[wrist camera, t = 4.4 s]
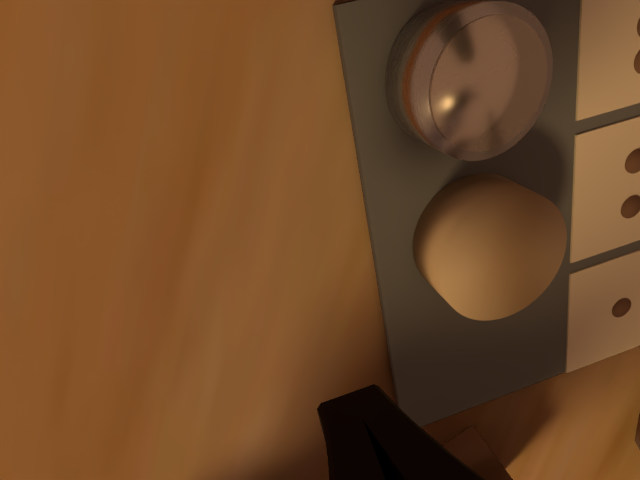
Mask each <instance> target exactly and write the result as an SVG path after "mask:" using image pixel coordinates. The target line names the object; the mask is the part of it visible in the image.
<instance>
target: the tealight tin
mask: <svg viewBox="0 0 640 480" xmlns="http://www.w3.org/2000/svg"><path fill="white" fill-rule="evenodd" d="M552 73H553V57H552V49H551V45H550V41H549V38H548V36H547V33H546V31H545V29H544V27H543V26H542V24H541V23H540V21H539V20H538V19H537V18H536V16H534V15H533V14H532V13H531V12H530V11H529V10H527V9H525V8H524V7H522V6H520V5H518V4H515V3H511V2H507V1H445V2H441V3H438V4H435V5H433V6H430V7H428V8H426V9H425V10H423V11H422V12H420V13H419V14H418V15H416V16H415V17H414V18H413V19H412V20H411V21H410V22H409V23H408V24H407V25H406V26H405V27H404V29H403V30H402V31H401V33H400V34H399V36H398V38H397V39H396V41H395V43H394V45H393V47H392V50H391V52H390V55H389V58H388V61H387V66H386V71H385V94H386V100H387V103H388V107H389V110H390V112H391V114H392V116H393V118H394V119H395V121H396V123H397V124H398V125H399V126H400V127H401V129H402V130H404V131H405V132H406V133H407V134H408V135H410V136H412V137H413V138H415V139H417V140H419V141H421V142H423V143H425V144H427V145H429V146H431V147H433V148H435V149H437V150H439V151H441V152H443V153H445V154H447V155H449V156H451V157H454V158H456V159H460V160H465V161H480V160H484V159H489V158H492V157H494V156H497V155H499V154H501V153H503V152H505V151H506V150H508V149H509V148H511V147H512V146H514V145H515V144H516V143H517V142H519V141H520V140H521V139H522V138H523V137H524V136H525V135H526V134H527V132H528V131H529V130H530V129H531V127H532V126H533V125H534V123H535V122H536V120H537V119H538V117H539V115H540V113H541V111H542V109H543V107H544V105H545V102H546V100H547V97H548V94H549V91H550V86H551V81H552Z"/></svg>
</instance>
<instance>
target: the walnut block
mask: <svg viewBox="0 0 640 480" xmlns="http://www.w3.org/2000/svg"><path fill="white" fill-rule="evenodd" d="M442 446H443V447H444V448H445V449H447V450H448V451H449V452H450V453H451V454H453V455H454V456H455V457H456V458H458V459H459V460H460V461H461V462H463V463H464V464H465V465H467V466H468V467H469V468H471V469H472V470H473V471H475V472H476V473H477V474H479V475H480V476H481V477H483V478H484V479H485V480H513V479H512V478H511V477H510V475H509V474H508V473H507V471H506V470H505V469H504V467H503V466H502V464H501V463H500V462H499V460H498V459H497V458H496V456H495V455H494V454H493V452H492V451H491V450H490V448H489V447H488V446H487V444H486V443H485V442H484V440H483V439H482V438H481V436H480V435H479V434H478V432H477V431H476V430H475V428H474V427H473V425H471V426H470V427H469V428H467V429H466V430H464V431H463V432H461V433H460V434H458V435H457V436H455V437H454V438H453V439H451V440H450V441H448V442H447V443H445V444H444V445H442Z"/></svg>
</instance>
